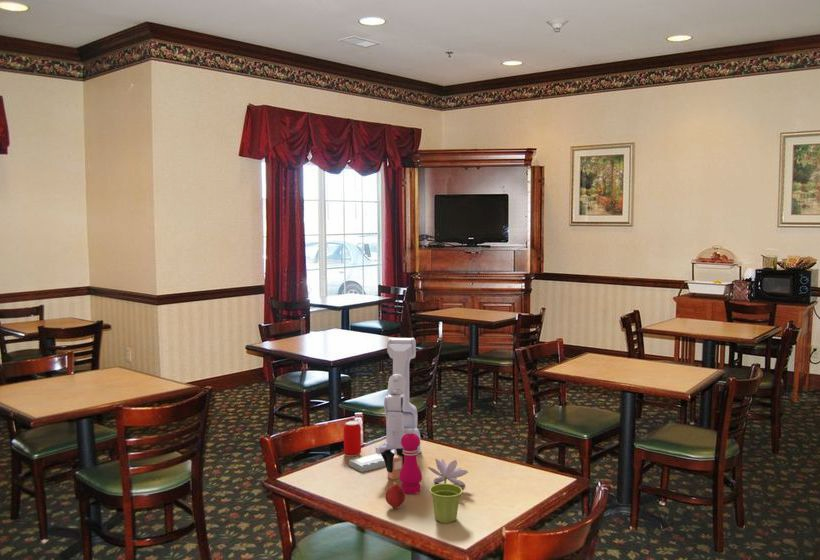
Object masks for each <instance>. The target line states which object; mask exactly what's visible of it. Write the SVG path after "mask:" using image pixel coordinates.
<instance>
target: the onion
mask: <svg viewBox="0 0 820 560" xmlns="http://www.w3.org/2000/svg"><path fill="white" fill-rule="evenodd" d="M391 484H392V485H390V486H389V487H388V488H387V490H386V491H385V494H384V495H385V501H386V503H387V504H388V505H389V506H390V507H391V508H392V509H396V510H397V509H398V508H399V507H400V506H402V505H403V503H404V502H405V500H406V499H405V498H406V494H405V493H404V490H403V489H402V488H401V485H399V484H397V482H392V483H391Z"/></svg>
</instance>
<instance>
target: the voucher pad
mask: <svg viewBox="0 0 820 560" xmlns="http://www.w3.org/2000/svg"><path fill="white" fill-rule="evenodd" d="M351 466H352V468H353V467H354V468H353V469H356V470H357V471H359V472H361V473H364V471H365V472H368V470H369V471H371V470H372V469H373V470H375V469H379V467H380V468H384V467H386V464H385V461H384V459H383V457H382V455H381V454H378V453H376V452H375V453H373V454H368V455H366V456H361V457H357V458H353V459H350V460H349V467H351ZM383 466H384V467H383Z"/></svg>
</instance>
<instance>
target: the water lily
mask: <svg viewBox="0 0 820 560" xmlns="http://www.w3.org/2000/svg"><path fill="white" fill-rule="evenodd" d="M434 462H435V463H436V468H437V470H436V469H435V468H434V467H430V466H427V467H426V468H427V469H428V470H430V472H432V473H434V474H435V475H436V476H438V477H436V478H434V479H433V482H434V483H437V484H440V483H443V484H447V480H448V481H449V482H450V483H451V484H452V483H453V484H454V485H457V486H466V484H465V482H464V481H462V480H460V479H459V480H458V478H461V477H463V476H465V475H467V474H468V473H469V471H468V470H465V469H463V467H458V468H457V466H458V461H457V460H456V459H453V460H452V461H450V462H449V463H448V465H447V463H446V462H445V460H444V459H441V461H440V460H439V459H437V458H435V459H434Z"/></svg>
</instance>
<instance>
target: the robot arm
mask: <svg viewBox="0 0 820 560" xmlns="http://www.w3.org/2000/svg"><path fill="white" fill-rule="evenodd" d="M386 343H387V344H386V349H387V350H386V352H387V354H388V356H389V358H390V359H392V374H391V376H390V377H389V378H388V383H387V391H386V395H385V396H384V403H383V404H384V405H383V407H384V417H385V423H386V427H385V430H386V431H385V432H386V433H385V434H386V435H385V436H386V441H385V442H384V443H382V444H380V445H378V446H375V454H376V453H378V454H381V455H382V457H383V459H384V461H385V464H386V466H385V469H386V471H387V473H388V472H390V473H392V471H393V458H394V455H396V454H398V455H400V456H402V459H403V464H404V454H403V447H402V445H401V439H402V437H403V436H404V435H405V434H407V433H408V429H412V430H413V433H414V434H416V435H417V436H418V437H419V439H420V440H421V431H420V430H419V428H418V409H417V407H416V406H415V405H414V404H412V402H410V362H411V360H413V359H416V356H417V355H416V354H417V351H416V349H417V347H416V346H417V343H416V339H415V337H392V336H391V337H389V338H388V339H387V342H386ZM422 452H423V451H422V450H421V444H420V445H419V446H418V454H420V453H422Z"/></svg>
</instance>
